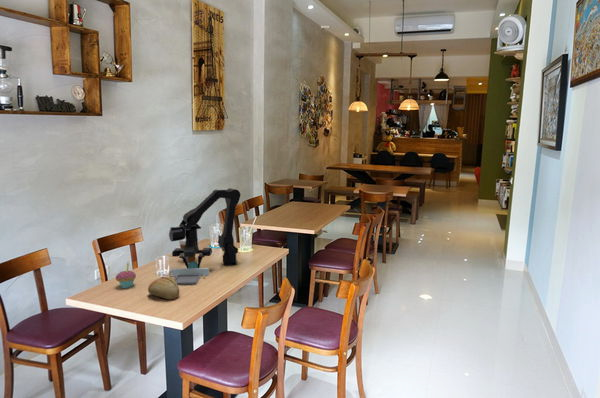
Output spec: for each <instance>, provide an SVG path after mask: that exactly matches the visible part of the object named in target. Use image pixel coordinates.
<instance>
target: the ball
mask: <svg viewBox="0 0 600 398" xmlns="http://www.w3.org/2000/svg"><path fill="white" fill-rule="evenodd" d="M188 268H198V261H196V260H195V261H192V262H190V263H188Z"/></svg>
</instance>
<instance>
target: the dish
mask: <svg viewBox="0 0 600 398" xmlns="http://www.w3.org/2000/svg"><path fill="white" fill-rule="evenodd" d="M201 278H202V276H201V274H195V275H177V276H175V278H173V280H175V281H176V283H177V285H178V286H197V284H198V282H200V281H199V280H200V279H201Z"/></svg>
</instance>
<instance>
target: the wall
mask: <svg viewBox="0 0 600 398" xmlns="http://www.w3.org/2000/svg"><path fill="white" fill-rule="evenodd" d="M195 274H201V277H202V276H203V277H204V276H205V277H210V268H209V267H199V268H187V267H186V268H171V269H170V275H171V277H176V276H177V275H195Z"/></svg>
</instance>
